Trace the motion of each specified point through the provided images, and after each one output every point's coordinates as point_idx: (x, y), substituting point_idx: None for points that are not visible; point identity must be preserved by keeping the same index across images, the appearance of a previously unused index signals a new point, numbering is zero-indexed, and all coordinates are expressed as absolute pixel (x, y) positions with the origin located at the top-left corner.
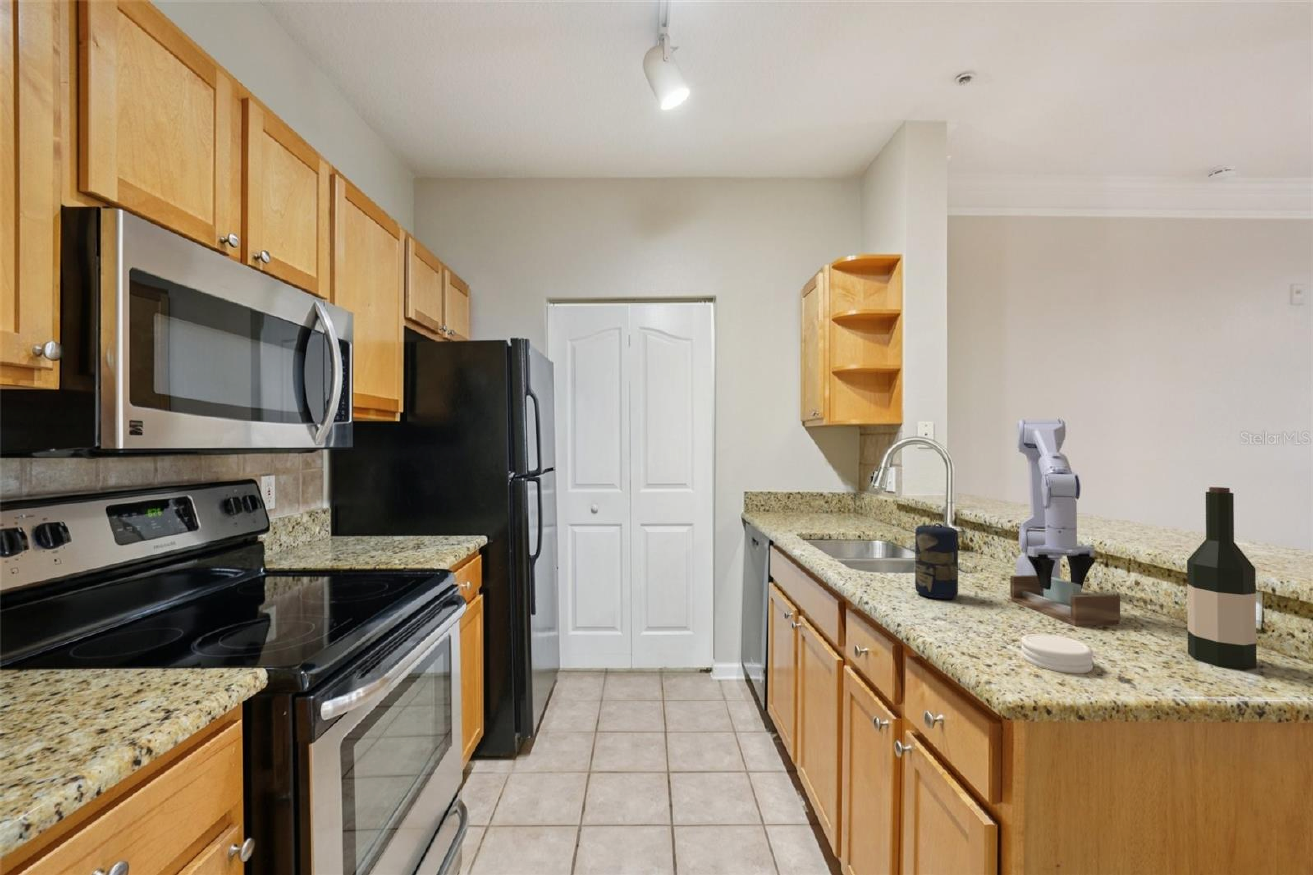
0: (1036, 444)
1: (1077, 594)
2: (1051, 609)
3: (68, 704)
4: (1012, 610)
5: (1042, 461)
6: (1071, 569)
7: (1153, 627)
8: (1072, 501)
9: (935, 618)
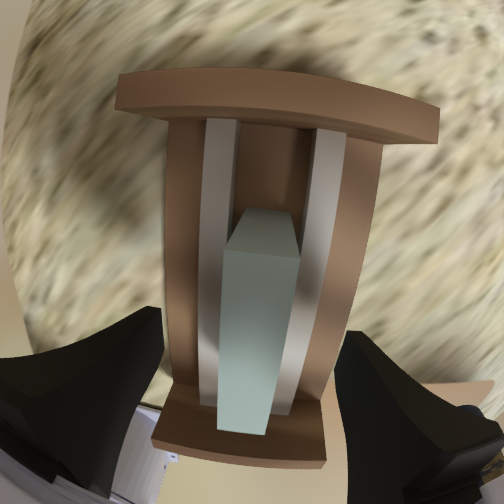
0: None
1: (261, 233)
2: (329, 276)
3: None
4: (411, 326)
5: None
6: (127, 418)
7: (97, 77)
8: None
9: None
